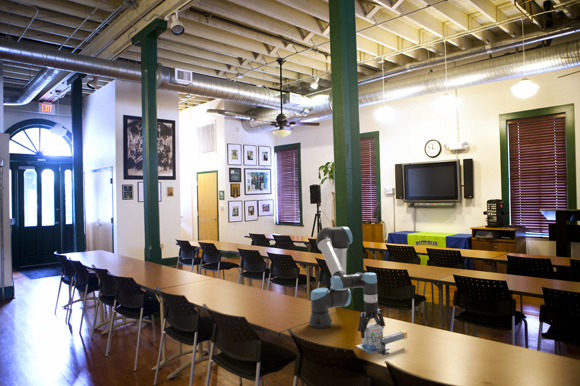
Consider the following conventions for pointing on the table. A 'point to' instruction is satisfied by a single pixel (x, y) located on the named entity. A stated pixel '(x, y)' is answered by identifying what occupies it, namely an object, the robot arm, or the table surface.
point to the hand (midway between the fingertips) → (372, 341)
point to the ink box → (373, 336)
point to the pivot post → (383, 350)
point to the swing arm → (393, 337)
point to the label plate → (368, 349)
